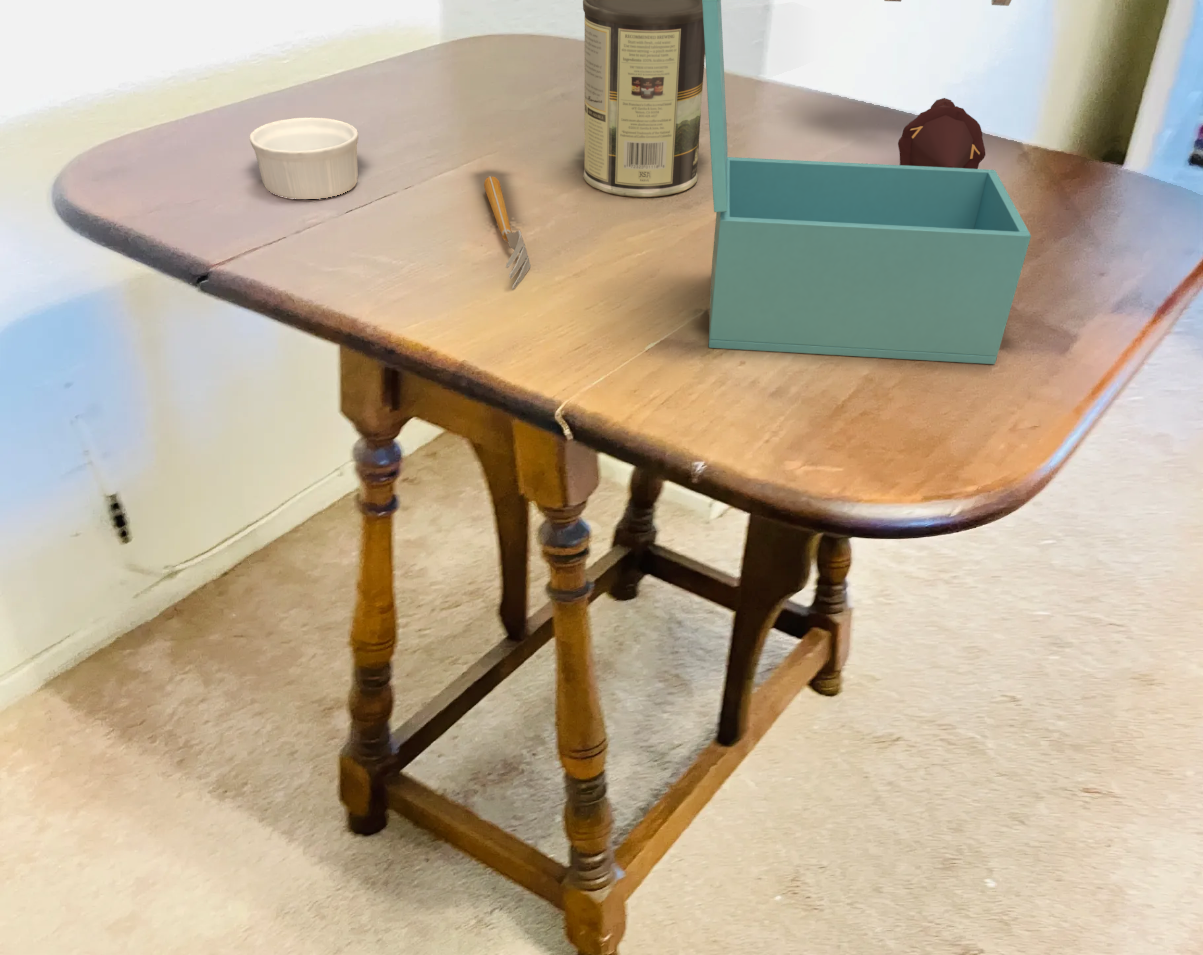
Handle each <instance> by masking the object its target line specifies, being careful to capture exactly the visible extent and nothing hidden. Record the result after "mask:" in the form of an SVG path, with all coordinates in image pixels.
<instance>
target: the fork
mask: <svg viewBox="0 0 1203 955" xmlns="http://www.w3.org/2000/svg"><path fill="white" fill-rule="evenodd" d="M483 187H484V191H485V193H486V196H487V198H488V202H489V205H490V207H491V210H492V213H493V215H494V218H495V221H496V224H497V227H498V229H499V232H500V235H501V238H502V239H503V241H504V242H506V243H508V246H509V248H510V249H512V250H513V251H512V254H511V256H510V257H509V259H507V262H506V264H505V268H506V269H509V268H510V266H511V265H513V263H514V262H515V261H516V260H517V261H516V263H515V264H514V266H513V268H512V269H511V271H510V272H509V274H508V279H510V280H511V279H513V278H514V277H515V275H516V274H517V273H518V271H520V272H519V274H518V277H517V278H516V279H515V281H514V283H513V284H512V290H516V288H517V287H518V285H519V284H520V283H521V282H522V280H523V279H524V277H525V276H526V274H527V273H528V272H529V270H530V269H531V263H530V258H529V254H528V251H527V248H526V243H525V241H524V238H523V236H522V231H521V230H520V229H517V230H516V231H513V232H512V227H511V224H510V220H509V215H508V212H507V207H506V203H505V199H504V195H503V190H502V187H501V183H500V181H499V179H498V178H497V177H496V176H493V175H492V176H491V175H489V176H488V177H486V179H485V180H484V183H483ZM517 257H518V258H517ZM520 268H521V270H520Z"/></svg>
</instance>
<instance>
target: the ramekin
mask: <svg viewBox="0 0 1203 955" xmlns="http://www.w3.org/2000/svg"><path fill="white" fill-rule="evenodd" d="M249 142H250V145H251V147H252V149H253V151H254V154H255V157H256V162H257V166H258V168H259V172H260V176H261V181H262V184H263V186H264V187H265V189H266V190H267V191H268V192H269V191H270V192H269V193H270V194H272V193H274V194H276V195H279V196H283V197H287V198H294V199H295V198H296V199H317V198H319V200H321V199H320V198H326V199H329V198H328V197H331V198H333V197H332V196H335V197H338V196H337V195H339V196H341V195H344V194H346V193H347V191H348V192H350V191H351V190H353V188H354V187H355V186H356V184H357V182H358V178H359V173H358V172H359V171H358V170H359V168H358V143H359V131H358V130H357V128H356V127H354V126H353V125H352V124H350V123H348V122H345V121H342V120H338V119H333V118H327V117H295V118H294V117H293V118H285V119H280V120H275V121H271V122H268V123H265V124H263V125H260V126H259V127H257V128H255V129H254V130H252V132H251V133H250V135H249ZM345 192H346V193H345ZM343 193H344V194H343ZM274 194H273V195H274ZM340 194H341V195H340ZM276 195H275V196H276ZM279 196H278V197H279ZM287 198H286V199H287Z"/></svg>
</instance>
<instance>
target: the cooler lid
mask: <svg viewBox="0 0 1203 955" xmlns="http://www.w3.org/2000/svg"><path fill="white" fill-rule="evenodd" d="M702 5H703V23H704V41H705V74H706V91H707V112H708V128H709V146H710V164H711V166H710V167H711V183H712V202H713V213H716V212H724V211H727V165H728V157H729V154H728V150H729V148H728V129H727V128H728V125H727V124H728V123H727V109H726V108H727V104H726V82H725V65H724V64H725V61H724V41H723V16H722V0H702Z"/></svg>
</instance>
